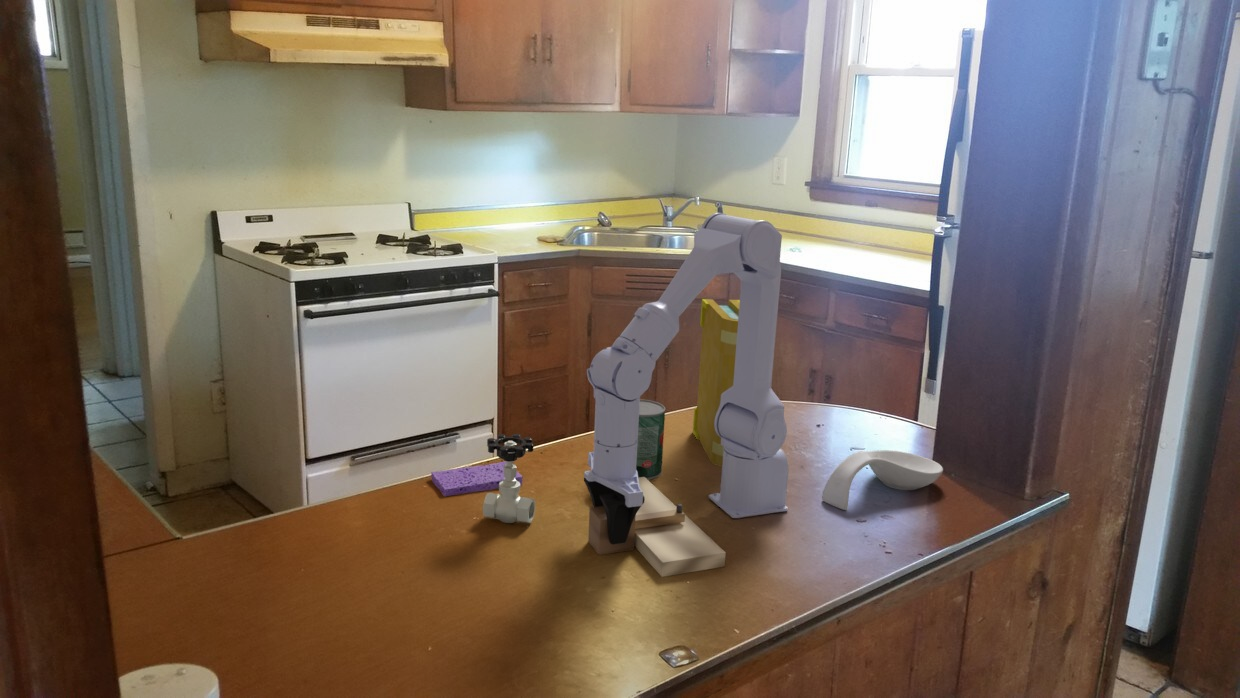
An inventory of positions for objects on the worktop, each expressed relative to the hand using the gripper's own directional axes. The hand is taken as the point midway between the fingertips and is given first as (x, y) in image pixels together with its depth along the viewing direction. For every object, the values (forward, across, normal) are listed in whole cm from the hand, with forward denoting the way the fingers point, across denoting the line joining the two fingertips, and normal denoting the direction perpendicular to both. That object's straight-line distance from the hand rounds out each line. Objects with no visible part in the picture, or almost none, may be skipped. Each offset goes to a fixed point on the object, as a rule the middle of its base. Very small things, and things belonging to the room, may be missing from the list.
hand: (611, 534), depth 123 cm
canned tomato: (+2, -23, +14) cm, 27 cm away
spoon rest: (+2, -5, +48) cm, 49 cm away
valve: (+2, -11, -11) cm, 16 cm away
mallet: (+2, 0, +4) cm, 4 cm away
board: (+2, -3, +8) cm, 8 cm away
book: (+2, -28, +32) cm, 43 cm away
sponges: (+2, -26, -12) cm, 29 cm away
